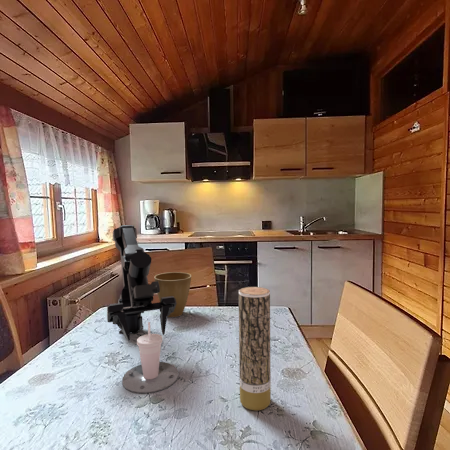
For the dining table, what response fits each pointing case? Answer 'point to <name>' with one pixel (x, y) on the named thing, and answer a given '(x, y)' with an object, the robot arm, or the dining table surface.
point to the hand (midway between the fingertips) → (146, 337)
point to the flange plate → (139, 384)
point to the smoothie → (150, 353)
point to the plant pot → (174, 289)
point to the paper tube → (254, 347)
